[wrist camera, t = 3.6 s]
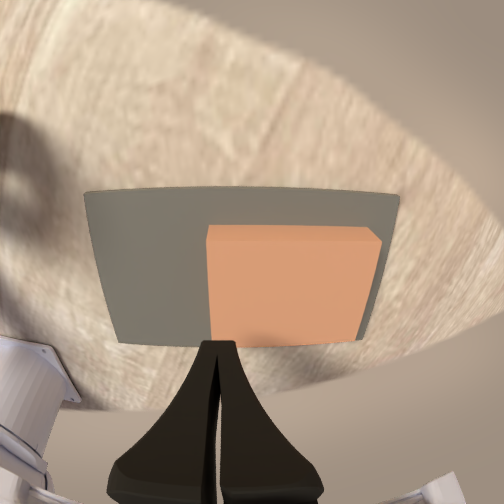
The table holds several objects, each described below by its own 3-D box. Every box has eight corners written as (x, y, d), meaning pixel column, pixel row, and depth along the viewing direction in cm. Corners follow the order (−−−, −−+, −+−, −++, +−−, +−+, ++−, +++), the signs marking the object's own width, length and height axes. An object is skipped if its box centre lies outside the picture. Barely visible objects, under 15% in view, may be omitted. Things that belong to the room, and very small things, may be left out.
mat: (120, 339, 20) (118, 342, 19) (86, 192, 15) (83, 194, 14) (360, 336, 21) (362, 339, 21) (396, 194, 16) (400, 196, 16)
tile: (212, 347, 17) (354, 340, 18) (206, 240, 14) (382, 241, 15) (213, 325, 19) (345, 321, 19) (209, 224, 16) (367, 227, 16)
